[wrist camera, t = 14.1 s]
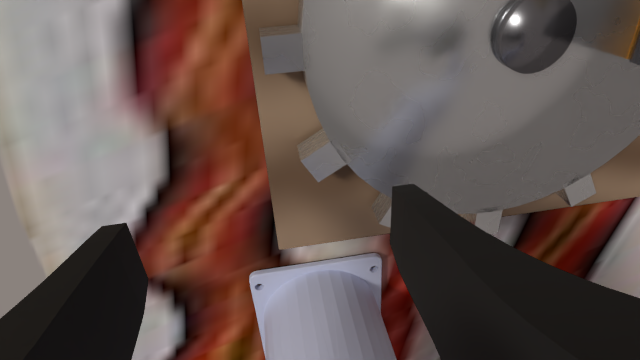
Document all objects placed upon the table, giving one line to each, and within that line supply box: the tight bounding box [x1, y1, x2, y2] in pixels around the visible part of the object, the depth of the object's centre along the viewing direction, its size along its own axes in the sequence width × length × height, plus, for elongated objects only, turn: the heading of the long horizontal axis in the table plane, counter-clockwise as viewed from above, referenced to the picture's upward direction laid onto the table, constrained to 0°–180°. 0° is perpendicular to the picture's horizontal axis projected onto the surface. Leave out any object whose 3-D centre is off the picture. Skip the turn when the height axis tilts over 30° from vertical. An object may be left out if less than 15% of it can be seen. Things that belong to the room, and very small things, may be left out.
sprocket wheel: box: [259, 0, 640, 234], centre depth 15 cm, size 21×21×6 cm
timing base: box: [242, 0, 640, 250], centre depth 18 cm, size 22×22×1 cm
